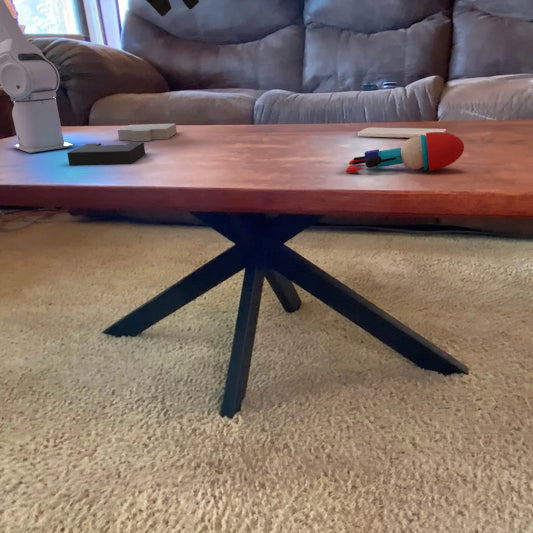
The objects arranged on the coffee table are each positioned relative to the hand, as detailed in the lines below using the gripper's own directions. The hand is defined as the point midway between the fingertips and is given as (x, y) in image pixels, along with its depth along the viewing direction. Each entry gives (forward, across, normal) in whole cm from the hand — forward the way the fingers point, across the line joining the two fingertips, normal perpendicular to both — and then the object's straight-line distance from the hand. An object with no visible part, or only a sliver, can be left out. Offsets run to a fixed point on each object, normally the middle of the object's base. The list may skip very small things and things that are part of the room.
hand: (181, 9), depth 82 cm
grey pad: (+12, +4, +26) cm, 30 cm away
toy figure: (+37, -9, -24) cm, 45 cm away
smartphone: (+37, +19, -15) cm, 44 cm away
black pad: (+14, -17, +16) cm, 27 cm away
